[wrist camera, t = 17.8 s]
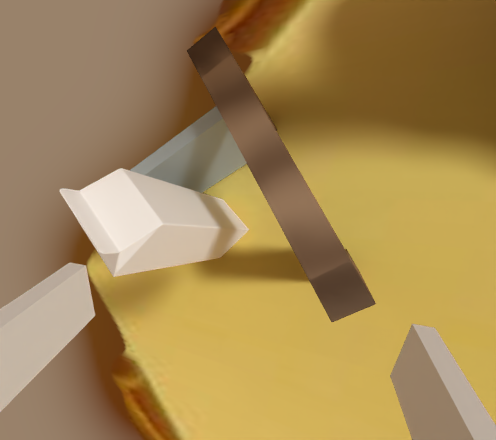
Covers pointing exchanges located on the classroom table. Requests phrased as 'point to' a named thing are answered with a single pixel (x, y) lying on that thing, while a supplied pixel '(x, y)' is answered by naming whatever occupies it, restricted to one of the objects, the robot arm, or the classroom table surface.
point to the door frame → (281, 181)
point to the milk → (152, 222)
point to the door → (196, 155)
